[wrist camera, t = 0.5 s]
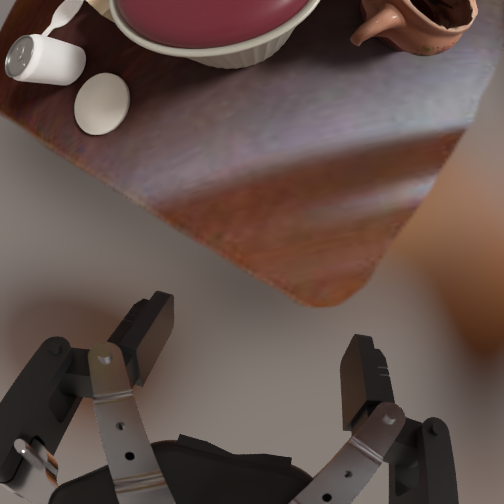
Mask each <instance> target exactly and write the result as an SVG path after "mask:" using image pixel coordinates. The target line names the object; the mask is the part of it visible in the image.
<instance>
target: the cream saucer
mask: <svg viewBox="0 0 504 504" xmlns="http://www.w3.org/2000/svg"><path fill="white" fill-rule="evenodd" d="M129 105H130V92H129V88H128V86H127V84H126V83H125V81H124V80H123V79H122V78H121V77H119V76H117V75H114V74H111V73H101V74H97V75H95V76H93V77H91V78H90V79H89V80H87V81H86V82H85V83H84V85H83V86H82V87H81V89H80V90H79V92H78V94H77V97H76V101H75V107H74V112H75V118H76V121H77V123H78V125H79V126H80V128H81V129H82V130H83V131H85V132H86V133H89V134H92V135H102V134H107V133H109V132H111V131H113V130H114V129H116V128H117V127H118V126H119V125H120V124H121V123H122V121H123V120H124V118H125V117H126V115H127V112H128V109H129Z"/></svg>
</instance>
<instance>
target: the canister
mask: <svg viewBox="0 0 504 504" xmlns="http://www.w3.org/2000/svg"><path fill="white" fill-rule="evenodd" d="M319 2H320V0H109V7H110V11H111V14H112V17H113V19H114V21H115V23H116V25H117V26H118V28H119V29H120V30H121V31H122V32H123V33H124V34H125V35H126V36H127V37H128V38H129V39H131V40H132V41H133V42H135V43H137V44H138V45H140V46H142V47H144V48H146V49H148V50H151V51H154V52H157V53H161V54H165V55H170V56H176V57H186V58H189V59H191V60H194V61H197V62H199V63H202V64H204V65H207V66H213V67H216V68H225V69H231V68H235V69H238V68H241V67H248V66H251V65H256V64H257V63H259V62H262V61H264V60H265V59H267V58H268V57H271V56H272V55H273V54H274V53H275V52H277V51H278V50H279V49H280V47H281V46H282V45H284V44H285V42H286V41H287V39H288V38H289V36H290V35H291V33H292V32H293V30H294V29H295V27H296V26H297V25H298V24H299V23H301V22H302V21H303V20H304V19H305V18H306V17H307V16H308V15H309V14H310V13H311V12H312V11H313V10H314V9H315V7H316V6H317V5H318V3H319Z"/></svg>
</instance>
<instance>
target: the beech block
mask: <svg viewBox="0 0 504 504" xmlns="http://www.w3.org/2000/svg"><path fill="white" fill-rule="evenodd" d="M86 1H87V2H88V3H89V4H90V5H92V6H93V7H94V8H95V9H96V10H97V11H98V12H99V13H100V14H101V15H102V16H104V17H106V18H107V19H109V20H111V21H113V22H114V23H115V21H114V19H113V17H112V14H111V11H110V7H109V0H86Z"/></svg>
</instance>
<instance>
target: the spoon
mask: <svg viewBox="0 0 504 504" xmlns="http://www.w3.org/2000/svg"><path fill="white" fill-rule="evenodd" d="M83 1H84V0H65V1H64V2H63V3H62V4H61V5H60V6H59V7H58V8H57V10H56V11H55V13H54V15H53V18H52V22H51V25H50V26H49V27H48V28H47V29H46V30H45V31H44V33H42V36H46V37H47V36H48V35H49V33H50V32H51V31H52V30H53V29H54V28H58V27H61V26H63V25H65V24H67V23H68V22H69V21H70V20H71V19H72V18H73V17H74V16H75V14H76V13H77V12H78V10H79V9H80V7H81V5H82V4H83Z"/></svg>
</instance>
